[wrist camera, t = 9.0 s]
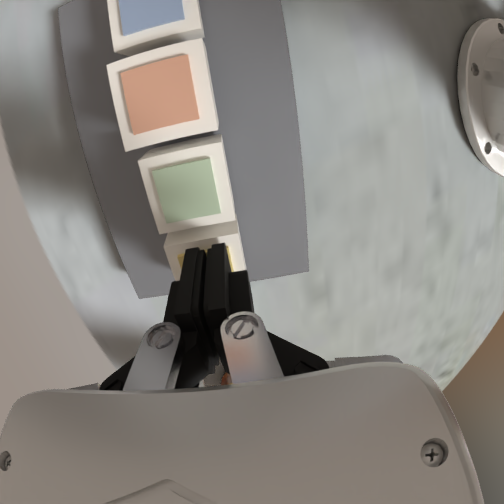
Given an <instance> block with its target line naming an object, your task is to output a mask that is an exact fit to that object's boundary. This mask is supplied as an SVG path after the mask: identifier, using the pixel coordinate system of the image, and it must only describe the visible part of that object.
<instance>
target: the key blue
mask: <svg viewBox="0 0 504 504" xmlns="http://www.w3.org/2000/svg"><path fill="white" fill-rule="evenodd" d="M107 4H108V13H109V21H110V28H111V35H112V42H113V48H114V52H115V53H119V54H123V55H126V56H133V55H137V54H140V53H143V52H146V51H150V50H153V49H157V48H160V47H164V46H168V45H172V44H176V43H180V42H185V41H189V40H194V39H199V38H204V37H205V35H204V29H203V23H202V18H201V12H200V5H199V0H107Z"/></svg>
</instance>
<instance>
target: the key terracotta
mask: <svg viewBox="0 0 504 504" xmlns="http://www.w3.org/2000/svg"><path fill="white" fill-rule="evenodd" d="M106 66H107V72H108V77H109V82H110V87H111V92H112V97H113V102H114V107H115V111H116V115H117V120H118V124H119V128H120V132H121V136H122V140H123V144H124V148H125V152H127V151H131V150H134V149H138V148H141V147H145V146H149V145H153V144H157V143H161V142H165V141H169V140H173V139H177V138H182V137H186V136H191V135H195V134H200V133H205V132H210V131H216V130H218V127H219V121H218V115H217V109H216V104H215V98H214V92H213V87H212V81H211V75H210V69H209V64H208V58H207V52H206V46H205V44H204V42H203V39H202V38H199V39H194V40H189V41H185V42H180V43H176V44H172V45H168V46H164V47H160V48H157V49H153V50H150V51H146V52H143V53H140V54H137V55H133V56H130V57H127V58H124V59H122V60H119V61H116V62H113V63H110V64H108V65H106Z"/></svg>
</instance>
